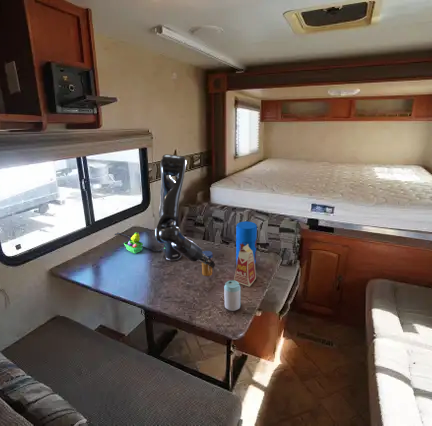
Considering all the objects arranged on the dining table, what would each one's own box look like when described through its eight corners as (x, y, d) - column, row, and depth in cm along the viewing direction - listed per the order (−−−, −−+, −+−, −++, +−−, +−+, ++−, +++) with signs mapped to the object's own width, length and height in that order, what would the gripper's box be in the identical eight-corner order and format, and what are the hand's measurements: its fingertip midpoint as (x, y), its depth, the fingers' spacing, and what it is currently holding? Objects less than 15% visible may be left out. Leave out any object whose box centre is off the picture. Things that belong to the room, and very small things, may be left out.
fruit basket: (124, 250, 182) (121, 234, 178) (135, 245, 188) (133, 229, 185) (134, 255, 175) (132, 238, 171) (146, 250, 181) (144, 234, 178)
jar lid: (198, 257, 137) (198, 253, 137) (206, 253, 141) (206, 249, 140) (206, 260, 133) (206, 257, 133) (215, 256, 137) (214, 253, 136)
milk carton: (249, 286, 140) (250, 250, 133) (232, 281, 145) (232, 246, 138) (256, 277, 147) (257, 243, 140) (240, 273, 152) (240, 239, 145)
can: (222, 309, 125) (222, 286, 120) (227, 300, 131) (226, 278, 127) (238, 313, 122) (238, 289, 118) (242, 303, 128) (242, 280, 124)
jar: (199, 273, 140) (199, 254, 137) (207, 269, 144) (206, 250, 140) (207, 277, 137) (206, 257, 133) (214, 273, 140) (214, 254, 137)
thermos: (233, 268, 157) (233, 227, 148) (240, 259, 165) (240, 220, 157) (252, 273, 152) (252, 230, 143) (258, 263, 161) (259, 223, 152)
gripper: (205, 247, 124) (223, 261, 136) (184, 238, 134) (203, 252, 146) (196, 262, 122) (216, 275, 134) (176, 252, 132) (196, 265, 144)
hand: (209, 263), depth 140 cm, fingers closed on jar, 5 cm apart
